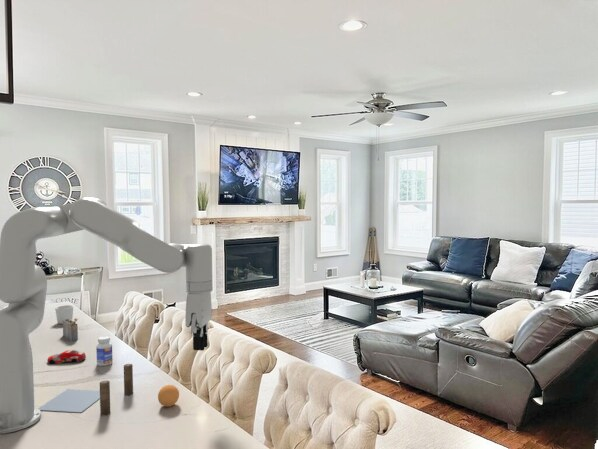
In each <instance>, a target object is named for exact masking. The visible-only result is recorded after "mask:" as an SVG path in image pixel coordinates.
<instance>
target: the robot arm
mask: <svg viewBox="0 0 598 449" xmlns="http://www.w3.org/2000/svg"><path fill="white" fill-rule="evenodd" d="M84 230H85V231H86V232H89V233H91V234H92V235H94V236H97V237H99V238H100V239H102V240H105V241H106V242H109V243H110V244H112V245H114V246H115V247H118V248H119V249H120V250H121V251H124V252H125V253H127V254H128V255H131V257H133V258H135V259H136V260H138V261H140V262H142V263H144V264H145V265H147V266H150V267H151V268H153V269H155V270H157V271H160V272H162V273H166V274H172V273H176V272H178V271H179V270H180V269H181V268H185V289H186V290H185V291H186V293H187V294H186V298H185V299H186V300H185V301H186V302H185V318H184V319H185V323H184V325H185V327H186V328H190V333H191V334H192V350H194V351H204V350H205V348H207V347H208V332H209V330H208V329H209V328H208V327H209V326H208V325H209V322H210V321H211V320H212V317H213V316H212V312H213V311H212V310H213V309H212V308H213V307H212V295H211V294H212V293H211V292H213V291H214V290H213V288H214V286H213V248H212V246H211V245H210V244H208V243H191V244H184V243H174V242H172V243H167V242H165V241H164V240H161V239H159V238H157V237H155V236H154V235H153V234H151V233H149V232H147V231H146V230H145V229H144V228H142V226H141V225H140V224H139V223H138V222H137V221H136V220H134V219H133V218H130V217H129V216H126V215H125V214H122V213H121V212H119V211H117V210H115V209H113V208H111V207H110V206H109V205H107V203H106V202H105V201H104V200H102V199H100V198H96V197H87V196H86V197H81V198H78V199H76V200H75V201H74V202H71V203H70V202H69V203H66V204H61V205H56V206H38V207H37V206H36V207H30V208H27V209H24V210H21V211H18V212H16V213H14V214H13V215H12V216H10V217H9V218H8V219H7V220H6V221H5V223H4V224H3V226H2V229H1V234H0V301H1V302H3V303H5V304H8V306H6V307H5V308H3V309H1V310H0V434H9V433H15V432H18V431H20V430H24V429H26V428H29V427H31V426H33V425H35V424H36V423H37V422H38V421H40V419H41V418H42V411H40V410H39V409H38V408H36V407H35V389H34V386H35V383H34V358H33V351H32V350H33V348H32V346H31V342H30V337H29V336H30V334H31V333H33V332H34V331H35V330H36V329H38V328H39V326H40V325H41V324H42V322H43V320H44V316H45V307H46V297H47V287H48V278H47V276H46V273H45V271H44V270H43V269H42V268H41V267H40V266H38V265H36V261H37V246H36V243H37V241H39V240H41V239H46V238H53V237H59V236H63V235H66V234H70V233H75V232H76V233H77V232H79V231H84Z"/></svg>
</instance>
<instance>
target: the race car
mask: <svg viewBox="0 0 598 449" xmlns="http://www.w3.org/2000/svg"><path fill="white" fill-rule="evenodd" d="M86 358H87V357H86V353H85V351H80V350H76V349H75V350H74V349H72V350H71V349H70V350H64V351H62V352H60V353H56V354H52V355H50V356H48V357H47V359H46V360H47V364H50V365H54V364H70V363H72V364H75V363H79V362H83V361H84V360H85V359H86Z"/></svg>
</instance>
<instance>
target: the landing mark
mask: <svg viewBox="0 0 598 449" xmlns="http://www.w3.org/2000/svg"><path fill="white" fill-rule="evenodd" d="M97 401H100V390H95V389H94V390H92V389H91V390H90V389H76V388H75V389H70V388H67V389H65V390H63V392H61V393H60V394H58V395H56V396H55V397H53V398H52V399H50V400H49V401H47V402H45V403H44V404H42V406H40V407H38V408H37V409H39V410H40V411H41V412H59V413H60V412H61V413H74V414H75V413H77V414H78V413H79V414H82V413H83V412H85V411H87V409H88V408H90V407H91V406H92V405H94V404H95V403H96V402H97Z"/></svg>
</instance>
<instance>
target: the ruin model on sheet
mask: <svg viewBox="0 0 598 449" xmlns="http://www.w3.org/2000/svg"><path fill="white" fill-rule="evenodd" d="M78 321H79V318H77V317H75V318H74V319H72V320H70V323H69V319H65V320H63V324H62V335H63V337H65V338H66V339H68V340H69V341H70V342H75V341H78V340H79V332H78V330H79V329H78V323H76V322H78Z"/></svg>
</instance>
